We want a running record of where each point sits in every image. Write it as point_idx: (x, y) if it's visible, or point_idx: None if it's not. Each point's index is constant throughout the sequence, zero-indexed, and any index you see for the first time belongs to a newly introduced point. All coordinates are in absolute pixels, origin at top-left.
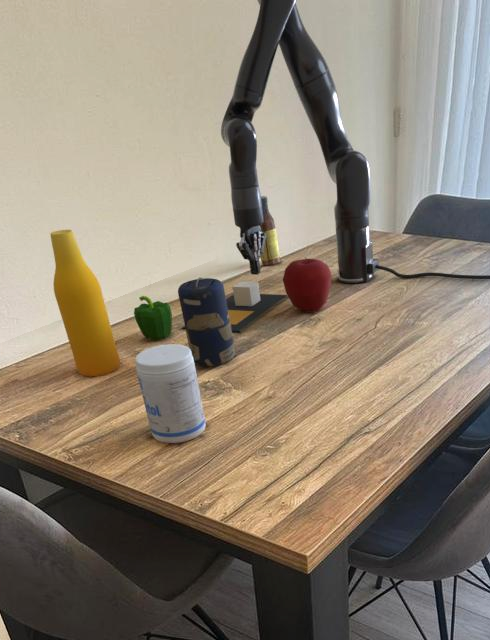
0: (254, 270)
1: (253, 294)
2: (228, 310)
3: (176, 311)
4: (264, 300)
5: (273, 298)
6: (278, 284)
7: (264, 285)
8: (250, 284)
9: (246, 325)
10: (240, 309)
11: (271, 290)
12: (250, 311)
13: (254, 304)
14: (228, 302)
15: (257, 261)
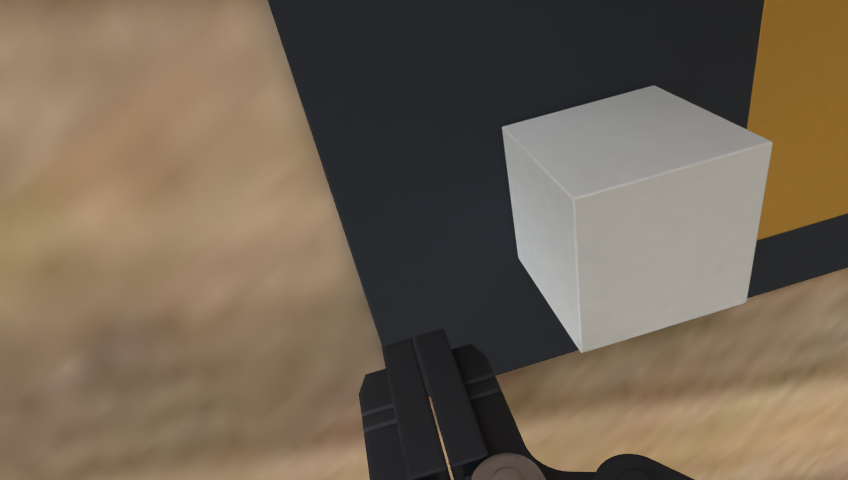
0: (491, 368)
1: (654, 125)
2: None
3: (724, 431)
4: (491, 93)
5: (415, 50)
6: (18, 326)
7: (121, 394)
8: (676, 202)
9: None
10: None
11: (189, 263)
12: (775, 1)
13: (611, 97)
14: None
15: (458, 446)
